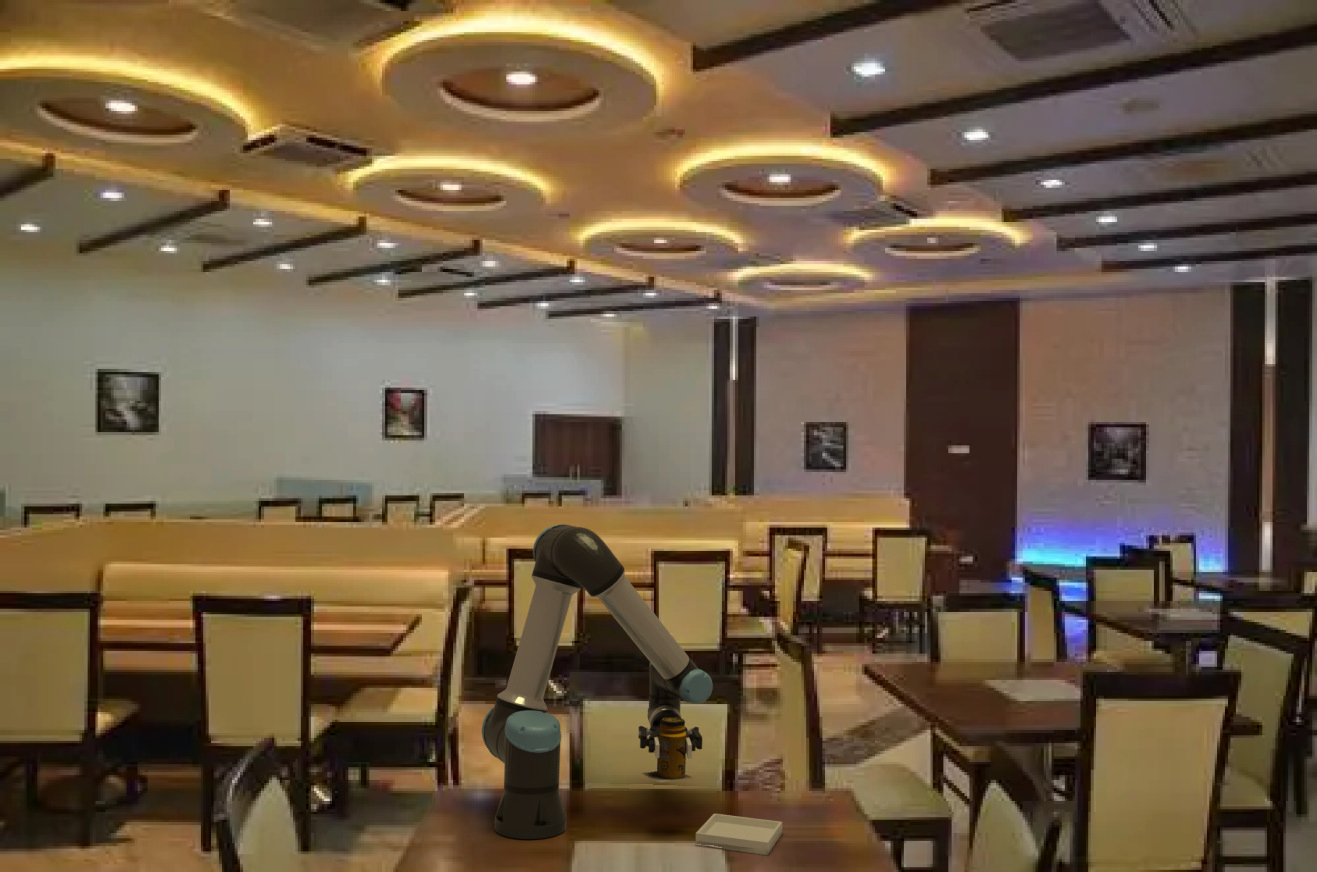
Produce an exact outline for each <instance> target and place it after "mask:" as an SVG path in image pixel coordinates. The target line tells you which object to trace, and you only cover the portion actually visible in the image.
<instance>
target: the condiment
mask: <svg viewBox="0 0 1317 872" xmlns="http://www.w3.org/2000/svg"><path fill="white" fill-rule="evenodd" d="M660 724H661V725H660V731H659V733H658V740H659V745H660V747H659V758H656V759H657V764H656V771H655V770H654V771H647V772H645V771H644V772H641V774H642V775H644V776H645V777H647V778H648V779H651V780H652V781H654V782H658V783H663V782H664V783H665V782H672V781H681V780H688V779H689V780H690V779H693V778H694V777H693V776H691V775H688V774H686V765H687V764H686V763H687V762H686V760H687V754H686V732H685V727H686V725H685V724H686V721H685V719H684V718H682V717H681V718H678V717H665V718H662V719H661V721H660Z"/></svg>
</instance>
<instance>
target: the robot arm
mask: <svg viewBox="0 0 1317 872" xmlns="http://www.w3.org/2000/svg"><path fill="white" fill-rule="evenodd" d="M532 555H533V560H534V562H535V563H534V567H533V570H532V573H531V579H532V580H533V582H534V584H535V586H534V590H533V594H532V597H531V602H530V604H529V608H528V612H527V616H526V619H525V622H524V626H523V629H522V632H521V636H520V639H519V643H518V647H517V650H516V653H515V657H514V661H513V665H512V668H511V671H510V675H509V678H508V681H507V685H506V688H505V689H504V690H502V691H501V692H499V693H498V694H497V696H496V699H495V702H494V706H493V708H491V709H490V710H489V711H488V712H487V713H486V715H485V717H484V718H483V721H482V725H481V737H482V741H483V742H484V743H483V744H484V745H485V747H486V748H487V750H488V751H489V753H490V754H491V755H492V756H493V757H495V758H496V759H498V760H499V761H500V762H502V763H503V764H504V769H503V771H504V773H503V774H504V776H503V777H504V778H503V781H504V782H503V792H502V796H501V798H500V802H499V803H498V807H497V811H496V813H495V816H494V823H493V825H494V831H495V832H496V833H498V834H499V835H501V836H503V837H506V838H510V839H511V838H512V839H518V840H540V839H545V838H552V837H555V836H558V835H560V834H563V832H565V831H566V829H567V815H566V811H565V807H564V804H563V801H562V797H561V794H560V768H561V767H560V766H561V765H560V764H561V742H562V731H561V722H560V721H559V719H558V718H557V717H556V716H555V715H553V714H552V713H548V712H547V711H548V707H547V704H546V703H545V700H544V697H545V693H546V689H547V685H548V683H549V679H550V674H551V671H552V668H553V664H554V661H555V657H556V654H557V651H558V646H559V642H560V639H561V637H562V632H563V628H564V626H565V621H566V619H567V618H566V617H567V615H568V614H567V613H568V611H569V607H570V605H571V600H572V597H573V595H574V594H576V593H578V592H580V591H581V590H582V588H583V589H584V590H585V591H586V592H587V593H588V595H589V596H590V597H591V598H598V600H599V601H600V602H601V603H602V604H603V606H604V607H605V608H606V609H607V610H608V612H609V613H610V614H611V615H612V617H613V618H614V620H616V622H617V623H618V624H619V625H620V627H622V629H623V630H624V631H625V633H626V634H627V635H628V637H629V638H630V639H631V640H632V642H633V643H634V644H635V645H636V646H637V648H638V650H639V651H640V652H642V654H643V655H644V656H645V658H646V659H647V660H648V661H649V666H648V667H649V692H648V708H647V719H648V723H649V726H650V727H649V729H648V727H645V726H643V725H640V726H638V737H637V738H638V739H639V740H640V741H639V748H640V749H646V748H647V747H648V750H647V751H648V753H651V754H653V753H654V756H655V759H657V758H659V747H660V745H659V740H658V733H659V731H660V725H661V724H660V721H661V719H662V718H665V717H678V718H682V716H681V702H682V701H681V700H683V701H684V702H685V703H691V704H693V705H694V704H695V705H698V704H702V703H705V702H706V701H707V700H708V699H709V698H710V696H711V695H712V691H713V690H714V689H713V688H714V687H713V686H714V685H713V681H712V680H713V679H712V677H711V676H710V674H708V673H707V672H706V671H704V670H702V669H700V668H698V667H697V665H696V664H695V663H694V662H693V660H692V659H691V658H690V657H689V655H688V654H687V652H685V650H684V649H683V648H682V646H681V645H680V643H678V641H677V640H676V639H675V637H674V636H673V635H672V634H671V633H670V631H669V630H668V629H667V628H666V626H665V625H664V624H663V622H662V621H661V620H660V619H659V617H658V616H657V615H656V613H654V611H653V610H652V608H650V607H651V606H650V605H648V603H647V602H646V601H645V600H644V598H643V597H642V596H641V595H640V593H639V592H638V591H637V590H636V588H635V587H634V586H633V585H632V583H631V582H630V581H629V579H628V578H627V577H626V576H625V574H626V568H625V567H624V566H623V564H622V563H621V562H620V560H619V559H618V558H617V556H616V555H615V554H614V553H613V551H612V550H611V549H610V548H609V547H608V545H607V544H606V543H605V541H604V540H603V539H602V538H601V537H600V536H599V535H598V534H597V533H596V532H594V531H593V530H591V529H590V528H586V527H582V526H576V525H575V526H574V525H571V524H566V523H565V524H564V523H563V524H557V525H551V526H549V527H546V529H544V530H542V531H541V532H540V534H538V535H537V537H536V539H535V541H534V544H533V549H532ZM685 732H686V758H687V759H692V754H693V752H695V751H697V750H702V749H703V736H702V734H701V733H700V727H698V726H694V727H693V728H689V729H688V728H687V727H686V726H685ZM696 749H697V750H696Z"/></svg>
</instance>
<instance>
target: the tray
mask: <svg viewBox="0 0 1317 872" xmlns="http://www.w3.org/2000/svg"><path fill="white" fill-rule="evenodd" d="M782 835H783V821H778V820H777V821H776V820H770V819H762V818H753V817H747V816H737V815H729V814H721V813H713V814H712V815H711V816H710V817H709V819H707V821H706V822H704V823H703V825H702V826H701V827H700V828H699V829H698V830H697V831H696V832H695V845H696V844H701V845H714V846H718V847H722V848H725V849H726V850H727V851H731V852H732V851H735V852H742V853H748V854H749V853H750V854H756V855H763V856H768V855H769V854H770V853H771V851H772V850H773V848H774V847H775V845H776V844H777V842H778V841H779V839H780V837H781V836H782ZM725 849H724V850H725ZM726 850H725V851H726Z"/></svg>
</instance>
